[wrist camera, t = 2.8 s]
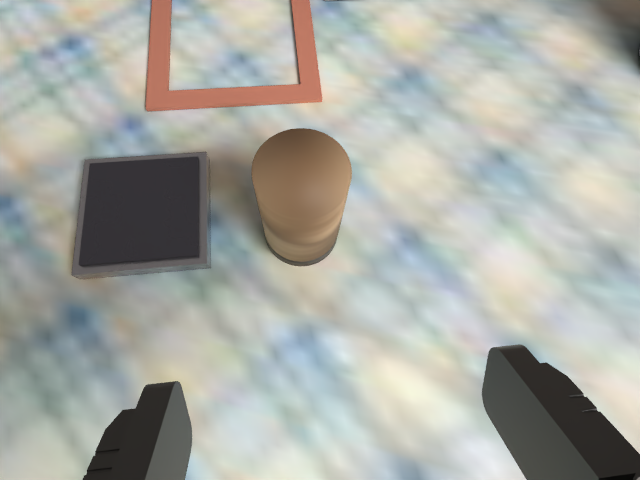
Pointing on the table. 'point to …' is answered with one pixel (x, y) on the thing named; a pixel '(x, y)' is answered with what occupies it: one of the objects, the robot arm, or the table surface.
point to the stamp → (301, 193)
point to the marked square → (229, 97)
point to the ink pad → (143, 216)
